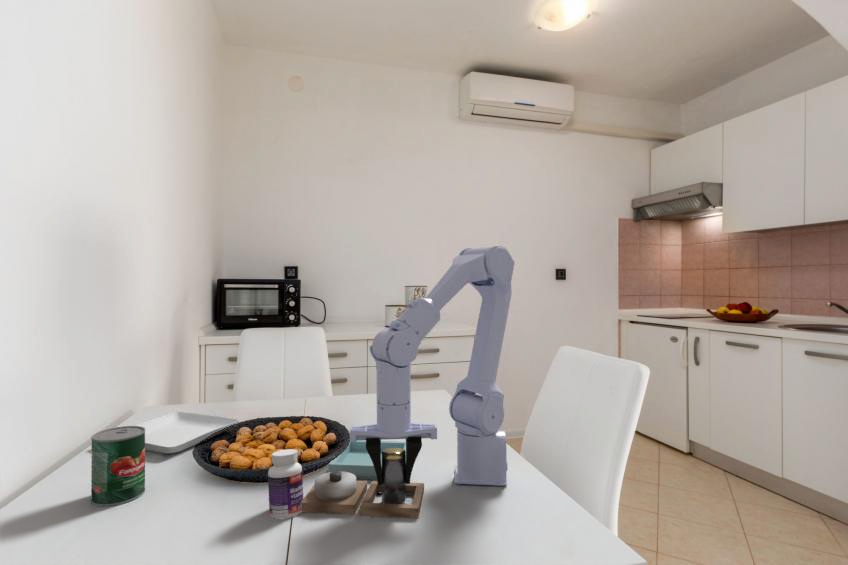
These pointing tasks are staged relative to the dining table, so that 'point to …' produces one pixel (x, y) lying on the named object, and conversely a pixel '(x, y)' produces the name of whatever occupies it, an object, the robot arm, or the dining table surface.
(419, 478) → the dining table surface
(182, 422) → the salad plate
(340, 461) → the tray
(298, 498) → the pill bottle
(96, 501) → the canned tomato
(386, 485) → the tin can
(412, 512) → the block
